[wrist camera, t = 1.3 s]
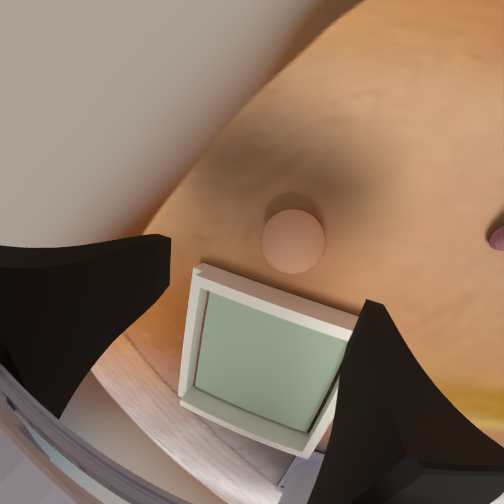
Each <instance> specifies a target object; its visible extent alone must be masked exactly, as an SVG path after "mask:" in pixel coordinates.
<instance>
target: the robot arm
mask: <svg viewBox="0 0 504 504" xmlns="http://www.w3.org/2000/svg"><path fill="white" fill-rule="evenodd" d="M170 257H171V238H169V237H166V236H163V235H160V234H149V235H141V236H134V237H129V238H123V239H118V240H112V241H106V242H100V243H93V244H88V245H80V246H71V247H59V248H21V247H9V246H1V245H0V504H104V503H102V502H101V501H100V500H98V499H97V498H96V497H94V496H93V495H92V494H90V493H89V492H88V491H86V490H85V489H84V488H82V487H81V486H80V485H79V484H77V483H76V482H75V481H74V480H72V479H71V478H70V477H69V476H68V475H66V474H65V473H64V472H63V471H62V470H60V469H59V468H58V467H57V466H56V465H55V464H54V463H52V462H51V461H50V457H49V456H48V455H47V453H46V452H45V451H44V450H43V449H42V448H41V447H40V446H39V444H38V443H37V442H36V440H35V439H34V438H33V437H32V435H31V434H30V433H29V431H28V429H27V428H26V426H25V425H24V423H23V422H22V421H21V419H20V418H19V417H18V416H17V414H16V413H15V411H16V412H17V413H18V414H19V415H20V416H21V417H22V418H23V419H24V420H25V421H26V422H27V423H28V424H29V425H30V426H31V427H32V428H33V429H34V430H35V431H36V432H37V433H38V434H39V435H40V436H41V437H42V438H43V439H44V440H46V441H47V442H48V443H49V444H50V445H51V446H52V447H54V448H55V449H56V450H57V451H58V452H59V453H61V454H62V455H63V456H64V457H65V458H66V459H68V460H69V461H70V462H71V463H73V464H74V465H75V466H76V467H78V468H79V469H80V470H82V471H83V472H84V473H86V474H87V475H88V476H90V477H91V478H93V479H94V480H95V481H97V482H98V483H100V484H101V485H102V486H104V487H105V488H107V489H108V490H110V491H112V492H113V493H114V494H116V495H118V496H119V497H121V498H122V499H124V500H126V501H127V502H129V503H131V504H192V503H190V502H188V501H185V500H183V499H181V498H179V497H177V496H175V495H173V494H171V493H169V492H167V491H165V490H163V489H161V488H159V487H157V486H155V485H154V484H152V483H150V482H148V481H146V480H145V479H143V478H141V477H139V476H138V475H136V474H134V473H133V472H131V471H129V470H128V469H126V468H124V467H123V466H121V465H120V464H118V463H116V462H115V461H113V460H112V459H110V458H109V457H107V456H106V455H104V454H103V453H101V452H100V451H98V450H97V449H96V448H94V447H93V446H92V445H90V444H89V443H87V442H86V441H85V440H83V439H82V438H81V437H79V436H78V435H77V434H76V433H74V432H73V431H72V430H70V429H69V428H68V427H67V426H65V425H64V424H63V423H62V422H61V421H59V419H60V417H61V415H62V413H63V411H64V409H65V408H66V406H67V404H68V402H69V400H70V399H71V397H72V395H73V394H74V392H75V391H76V389H77V388H78V386H79V385H80V383H81V382H82V380H83V379H84V377H85V376H86V375H87V373H88V372H89V371H90V369H91V368H92V367H93V365H94V364H95V363H96V361H97V360H98V359H99V358H100V356H101V355H102V354H103V353H104V352H105V350H106V349H107V348H108V347H109V346H110V345H111V343H112V342H113V341H114V340H115V339H116V338H117V337H118V336H119V335H121V334H122V333H123V332H124V331H125V330H126V329H127V328H128V327H129V326H130V325H132V324H133V323H134V322H135V321H136V320H137V319H138V318H139V317H140V316H141V315H143V314H144V313H145V312H146V311H147V310H148V309H149V308H150V307H151V306H152V305H153V304H154V303H155V302H156V301H157V300H158V299H159V298H160V296H161V295H162V294H163V293H164V291H165V290H166V289H167V287H168V286H169V285H170ZM276 490H277V491H278V492H281V493H282V496H281V498H280V500H279V502H278V504H490V503H491V502H493V501H494V500H495V499H497V498H498V497H499V496H500V495H501V494H502V493H503V492H504V448H503V447H502V446H501V445H499V444H498V443H497V442H495V441H494V440H492V439H491V438H490V437H488V436H487V435H486V434H484V433H483V432H482V431H481V430H479V429H478V428H477V427H476V426H475V425H474V424H472V423H471V422H470V421H469V420H468V419H467V418H466V417H465V416H464V415H463V414H462V413H460V412H459V411H458V410H457V409H456V408H455V407H454V406H453V404H452V403H451V402H450V401H449V400H448V399H447V398H446V397H445V396H444V395H443V394H442V393H441V391H440V390H439V389H438V388H437V387H436V386H435V384H434V383H433V382H432V380H431V379H430V378H429V377H428V375H427V374H426V373H425V371H424V370H423V369H422V367H421V366H420V364H419V363H418V361H417V360H416V358H415V357H414V355H413V354H412V352H411V351H410V349H409V348H408V346H407V344H406V343H405V341H404V339H403V338H402V336H401V334H400V333H399V331H398V329H397V327H396V326H395V324H394V322H393V320H392V318H391V317H390V315H389V313H388V311H387V310H386V308H385V306H384V305H383V304H380V303H377V302H374V301H370V300H367V299H366V301H365V303H364V306H363V308H362V311H361V313H360V315H359V318H358V320H357V323H356V325H355V327H354V329H353V332H352V334H351V336H350V338H349V341H348V343H347V345H346V349H345V353H344V357H343V361H342V365H341V370H340V377H339V385H338V393H337V400H336V407H335V414H334V421H333V426H332V431H331V435H330V439H329V442H328V446H327V449H326V452H325V454H322V453H319V452H315V451H313V452H312V454H311V455H310V457H309V459H304V458H301V457H298V456H296V457H295V459H294V461H293V462H292V464H291V466H290V467H289V469H288V470H287V472H286V474H285V475H284V477H283V478H282V480H281V481H280V483H279V484H278V486H277V488H276Z"/></svg>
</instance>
